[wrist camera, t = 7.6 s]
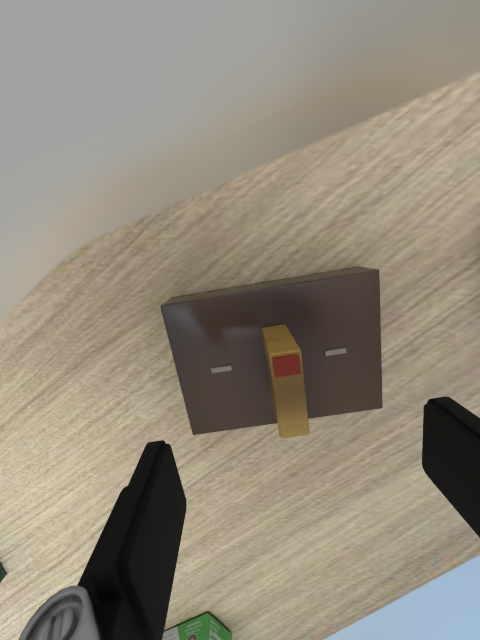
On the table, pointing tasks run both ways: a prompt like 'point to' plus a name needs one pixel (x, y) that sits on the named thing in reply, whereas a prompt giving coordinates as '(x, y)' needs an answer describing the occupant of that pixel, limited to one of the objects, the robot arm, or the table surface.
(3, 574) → the box
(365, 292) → the plate
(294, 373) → the lock knob
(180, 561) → the table surface
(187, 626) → the ink box
